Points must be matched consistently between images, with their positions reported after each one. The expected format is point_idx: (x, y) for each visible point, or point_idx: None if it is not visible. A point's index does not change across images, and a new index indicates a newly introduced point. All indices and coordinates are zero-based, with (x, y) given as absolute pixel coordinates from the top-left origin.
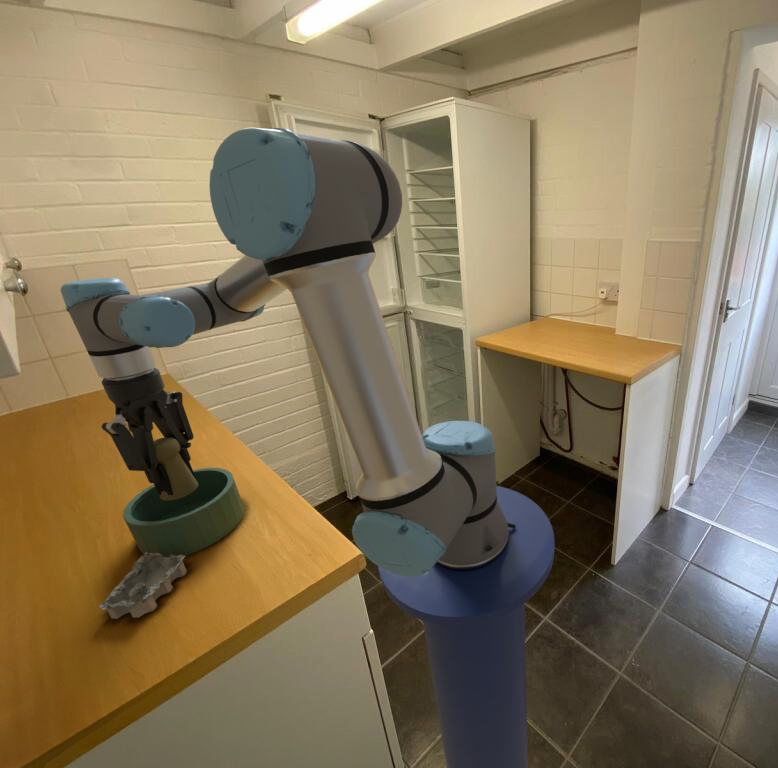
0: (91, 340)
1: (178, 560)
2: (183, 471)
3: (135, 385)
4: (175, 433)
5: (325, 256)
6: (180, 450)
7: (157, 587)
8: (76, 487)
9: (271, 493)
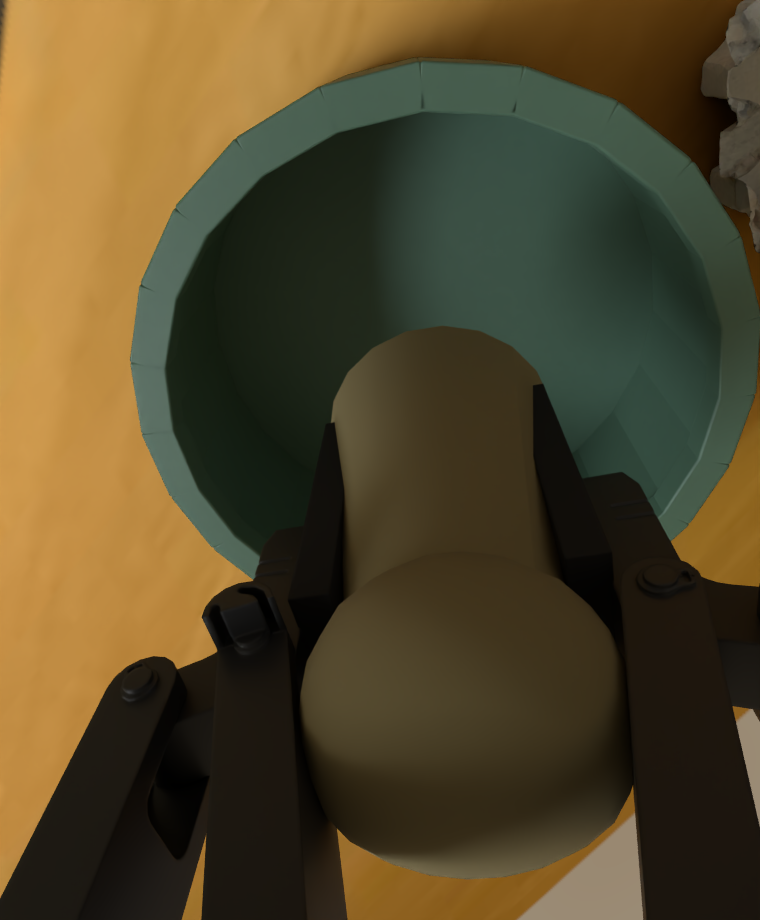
0: None
1: (717, 89)
2: (423, 435)
3: None
4: (270, 805)
5: None
6: (317, 614)
7: None
8: (389, 876)
9: (66, 126)
